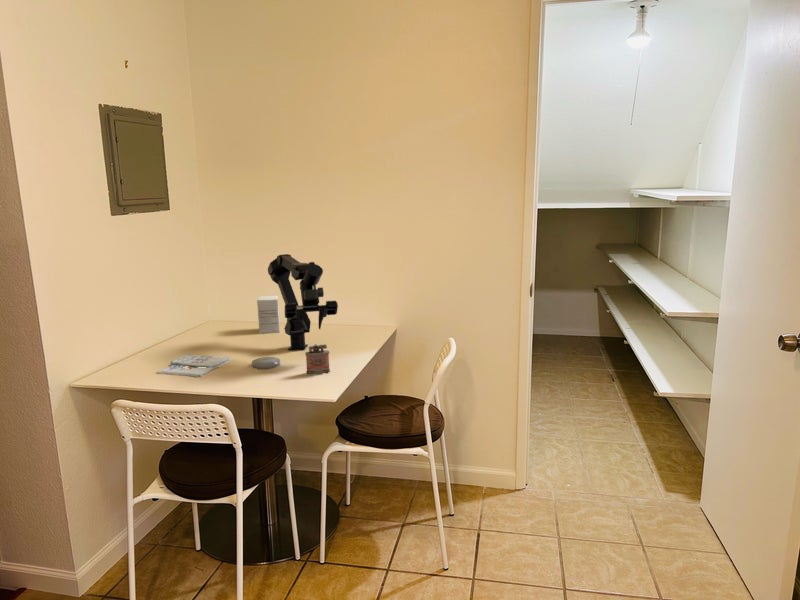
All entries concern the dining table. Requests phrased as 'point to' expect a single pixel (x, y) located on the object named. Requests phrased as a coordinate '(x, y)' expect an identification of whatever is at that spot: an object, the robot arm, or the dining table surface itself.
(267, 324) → the supplement box
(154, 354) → the dining table surface
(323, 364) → the lighter
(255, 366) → the grey smooth stone
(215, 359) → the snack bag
